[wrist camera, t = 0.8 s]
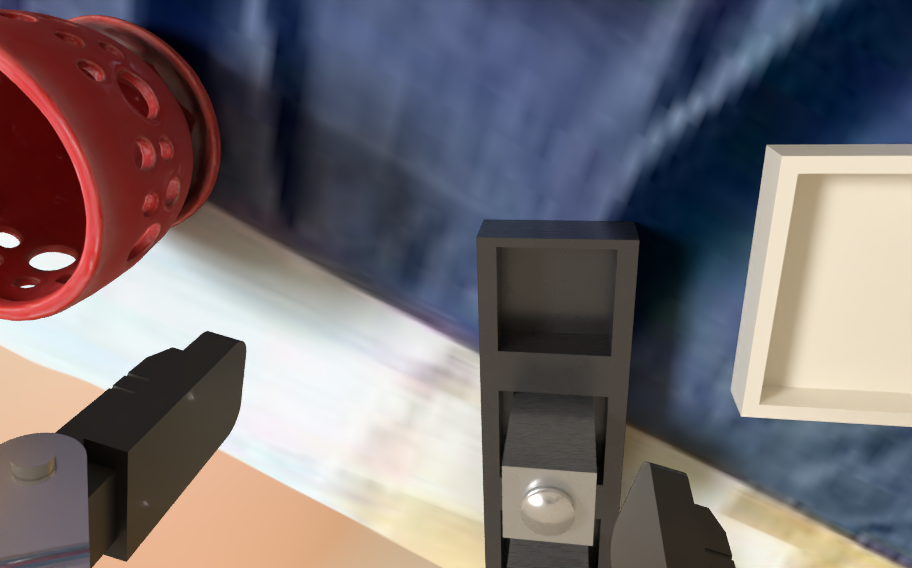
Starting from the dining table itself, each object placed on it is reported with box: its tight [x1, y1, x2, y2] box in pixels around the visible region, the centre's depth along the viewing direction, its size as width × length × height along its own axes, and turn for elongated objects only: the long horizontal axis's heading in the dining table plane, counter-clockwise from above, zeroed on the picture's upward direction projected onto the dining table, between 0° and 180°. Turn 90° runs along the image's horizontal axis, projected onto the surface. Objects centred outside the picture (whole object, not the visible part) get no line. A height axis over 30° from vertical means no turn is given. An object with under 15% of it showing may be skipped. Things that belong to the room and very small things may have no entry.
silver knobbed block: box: [502, 392, 597, 546], centre depth 35 cm, size 4×4×9 cm
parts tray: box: [731, 144, 912, 427], centre depth 32 cm, size 14×14×3 cm
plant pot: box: [0, 9, 221, 321], centre depth 32 cm, size 13×13×12 cm
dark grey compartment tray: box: [476, 220, 639, 568], centre depth 38 cm, size 8×24×3 cm, turn 2°
